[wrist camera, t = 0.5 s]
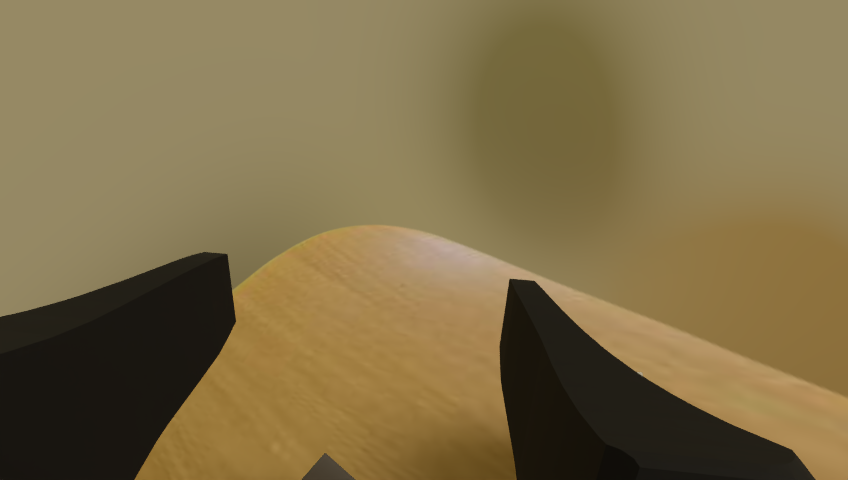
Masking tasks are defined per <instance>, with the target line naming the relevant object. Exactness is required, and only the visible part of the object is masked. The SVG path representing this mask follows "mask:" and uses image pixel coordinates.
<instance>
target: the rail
mask: <svg viewBox="0 0 848 480" xmlns="http://www.w3.org/2000/svg"><path fill="white" fill-rule="evenodd" d="M302 480H355V479H354V478H353V477H352V476H351V475H350V474H348V473H347V472H346V471H345V470H344V469H343V468H342V467H341V466H339V465H338V464H337V463H336V462H335V461H334V460H333V459H332V458H331V457H329V456H328V455H327V454H326V453H324V455H323V456H322V457H321V458H320V459H319V460H318V461H317V463H316V464H315V465H314V466H313V467H312V468H311V469H310V471H309V472H308V473H307V474H306V475H305V476H304V477H303V479H302Z"/></svg>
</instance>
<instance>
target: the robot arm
mask: <svg viewBox="0 0 848 480" xmlns="http://www.w3.org/2000/svg"><path fill="white" fill-rule="evenodd" d="M235 322H236V318H235V310H234V302H233V295H232V287H231V279H230V271H229V263H228V256H227V254H220V253H208V252H203V253H199V254H195V255H191V256H188V257H185V258H182V259H179V260H177V261H174V262H171V263H169V264H166V265H163V266H161V267H158V268H155V269H153V270H150V271H147V272H145V273H142V274H139V275H137V276H134V277H132V278H129V279H126V280H124V281H121V282H118V283H115V284H112V285H109V286H106V287H103V288H101V289H98V290H95V291H92V292H89V293H86V294H83V295H80V296H77V297H74V298H71V299H67V300H65V301H61V302H57V303H54V304H50V305H47V306H43V307H39V308H36V309H32V310H28V311H24V312H20V313H16V314H12V315H7V316H2V317H0V480H134V479H135V477H136V476H137V474H138V472H139V471H140V469H141V467H142V465H143V464H144V462H145V460H146V459H147V457H148V455H149V453H150V452H151V450H152V448H153V447H154V445H155V443H156V441H157V440H158V438H159V437H160V435H161V434H162V432H163V431H164V429H165V428H166V426H167V425H168V423H169V422H170V421H171V419H172V418H173V417H174V415H175V414H176V413H177V411H178V410H179V408H180V407H181V406H182V404H183V403H184V402H185V400H186V399H187V398H188V396H189V395H190V394H191V392H192V391H193V389H194V388H195V387H196V385H197V384H198V383H199V381H200V380H201V379H202V377H203V376H204V374H205V373H206V372H207V370H208V369H209V367H210V366H211V365H212V363H213V362H214V360H215V359H216V358H217V356H218V355H219V353H220V351H221V350H222V348H223V346H224V344H225V342H226V340H227V339H228V337H229V335H230V333H231V330H232V328H233V326H234V324H235ZM500 371H501V384H502V391H503V397H504V403H505V409H506V414H507V420H508V426H509V432H510V437H511V443H512V449H513V455H514V461H515V469H516V477H517V480H815V478H814V477H813V476H812V474H811V473H810V472H809V471H808V469H807V468H806V467H805V465H804V464H803V463H802V462H801V460H800V459H799V458H798V456H797V455H796V454H795V453H794V452H793V450H791V449H789V448H786V447H784V446H781V445H779V444H777V443H774V442H772V441H769V440H767V439H765V438H762V437H760V436H757V435H755V434H753V433H750V432H748V431H746V430H743V429H741V428H738V427H736V426H734V425H731V424H729V423H727V422H725V421H723V420H721V419H719V418H717V417H715V416H713V415H711V414H709V413H707V412H705V411H703V410H701V409H699V408H697V407H695V406H693V405H691V404H689V403H687V402H685V401H683V400H682V399H680V398H678V397H676V396H674V395H673V394H671V393H669V392H668V391H666V390H664V389H663V388H661V387H659V386H658V385H656V384H654V383H653V382H651V381H649V380H648V379H646V378H645V377H643V376H641V375H640V374H638V373H637V372H635V371H634V370H632V369H631V368H630V367H628V366H627V365H626V364H624V363H623V362H621V361H620V360H619V359H617V358H616V357H614V356H613V355H612V354H610V353H609V352H608V351H607V350H605V349H604V348H603V347H602V346H600V345H599V344H598V343H597V342H596V341H595V340H594V339H592V338H591V337H590V336H589V335H588V334H587V333H585V332H584V331H583V330H582V329H581V328H580V327H579V326H578V325H577V324H576V323H575V322H574V321H573V320H572V319H571V318H570V317H569V316H568V315H567V314H566V313H565V312H564V311H563V310H562V309H561V308H560V307H559V306H558V305H557V304H556V303H555V302H554V301H553V300H552V299H551V298H550V297H549V296H548V295H547V294H546V292H545V291H544V290H543V289H542V288H541V287H540V286H539V285H538V284H537V283H536V282H535V281H529V280H518V279H510V280H509V287H508V293H507V300H506V307H505V314H504V320H503V327H502V334H501V341H500Z"/></svg>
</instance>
